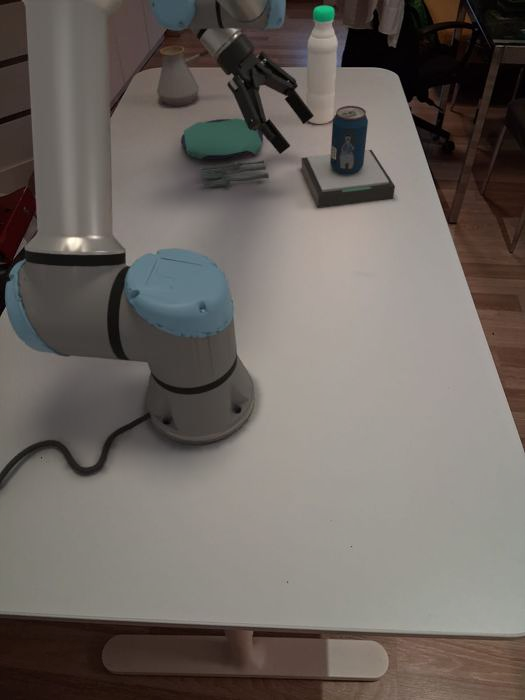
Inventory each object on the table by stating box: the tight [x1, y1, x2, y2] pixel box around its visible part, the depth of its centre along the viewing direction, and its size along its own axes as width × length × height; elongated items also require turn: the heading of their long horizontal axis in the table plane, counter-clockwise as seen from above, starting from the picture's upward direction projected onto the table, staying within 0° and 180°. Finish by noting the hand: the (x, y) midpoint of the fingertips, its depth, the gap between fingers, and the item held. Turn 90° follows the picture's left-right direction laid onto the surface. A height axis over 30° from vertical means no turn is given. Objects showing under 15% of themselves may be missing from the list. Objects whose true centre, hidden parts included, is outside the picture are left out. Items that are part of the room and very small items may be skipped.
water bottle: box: [306, 5, 339, 125], centre depth 129 cm, size 7×7×25 cm
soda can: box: [330, 105, 369, 175], centre depth 109 cm, size 7×7×12 cm
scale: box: [300, 149, 396, 209], centre depth 115 cm, size 16×16×3 cm
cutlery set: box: [180, 118, 270, 188], centre depth 126 cm, size 20×30×2 cm, turn 9°
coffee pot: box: [156, 45, 210, 107], centre depth 144 cm, size 21×12×15 cm, turn 86°
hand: (297, 134), depth 112 cm, fingers open, 13 cm apart
